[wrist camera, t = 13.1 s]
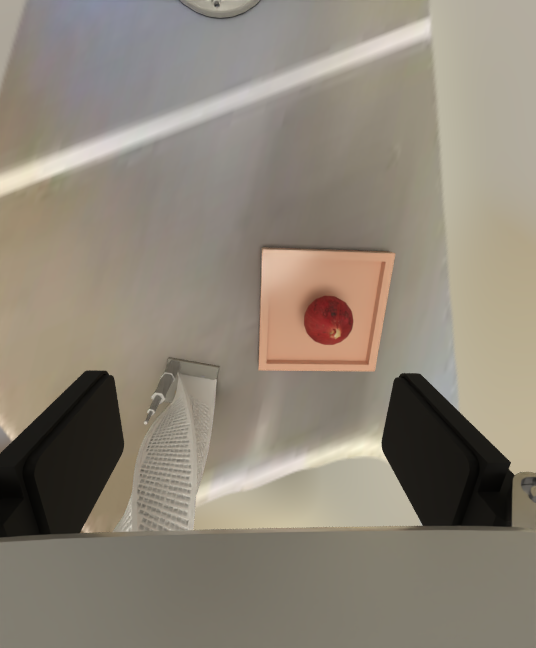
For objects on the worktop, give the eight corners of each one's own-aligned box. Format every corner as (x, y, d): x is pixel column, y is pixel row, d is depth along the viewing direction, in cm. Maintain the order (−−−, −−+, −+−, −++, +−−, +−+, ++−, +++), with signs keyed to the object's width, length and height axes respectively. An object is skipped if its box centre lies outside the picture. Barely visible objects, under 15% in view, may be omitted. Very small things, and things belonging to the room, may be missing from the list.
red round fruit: (301, 288, 39) (313, 307, 32) (346, 290, 40) (368, 308, 32) (298, 331, 41) (308, 358, 34) (340, 332, 42) (359, 359, 34)
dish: (261, 247, 38) (262, 249, 36) (388, 251, 39) (395, 253, 37) (258, 363, 44) (258, 370, 42) (369, 364, 45) (374, 371, 43)
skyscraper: (229, 368, 44) (195, 605, 17) (219, 415, 46) (177, 683, 20) (168, 357, 43) (36, 593, 16) (162, 406, 45) (39, 676, 19)
